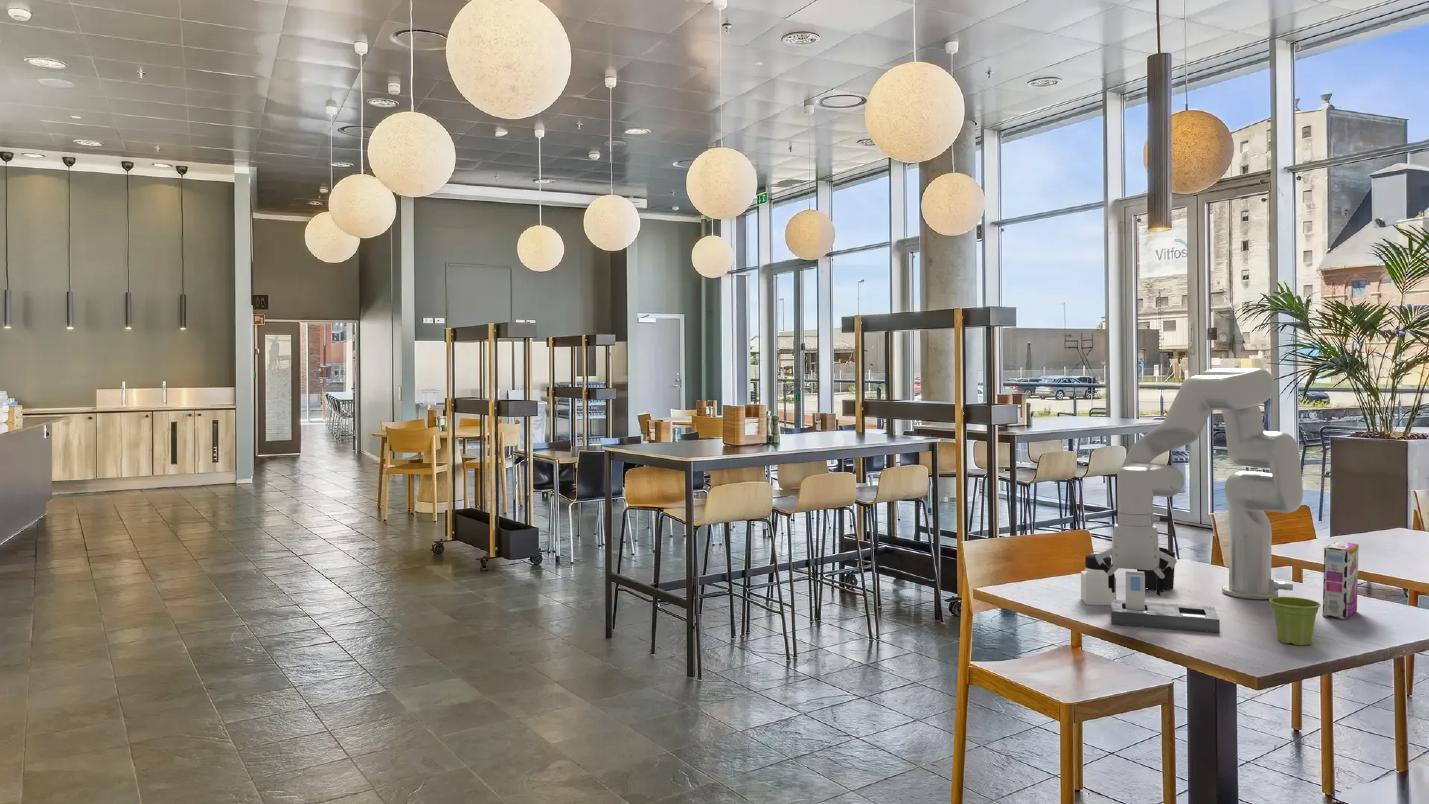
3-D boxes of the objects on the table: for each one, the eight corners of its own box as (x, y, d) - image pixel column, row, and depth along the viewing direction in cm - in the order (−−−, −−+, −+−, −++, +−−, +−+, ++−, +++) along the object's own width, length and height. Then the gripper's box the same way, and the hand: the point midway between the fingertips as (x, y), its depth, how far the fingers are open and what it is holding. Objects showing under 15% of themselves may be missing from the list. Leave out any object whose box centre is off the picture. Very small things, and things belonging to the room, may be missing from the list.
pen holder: (1179, 586, 256) (1179, 549, 255) (1168, 593, 249) (1168, 554, 248) (1142, 581, 262) (1142, 545, 261) (1131, 588, 255) (1131, 550, 254)
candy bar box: (1347, 620, 220) (1347, 549, 219) (1322, 617, 223) (1322, 547, 223) (1358, 611, 228) (1359, 543, 227) (1334, 608, 231) (1334, 540, 231)
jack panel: (1213, 619, 222) (1213, 606, 222) (1219, 633, 211) (1219, 618, 211) (1111, 611, 231) (1111, 598, 231) (1111, 624, 220) (1111, 610, 219)
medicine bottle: (1116, 606, 236) (1116, 557, 236) (1085, 605, 237) (1085, 557, 237) (1110, 599, 243) (1110, 552, 242) (1080, 598, 244) (1080, 551, 244)
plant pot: (1259, 636, 208) (1259, 597, 208) (1300, 635, 209) (1300, 595, 209) (1288, 649, 199) (1288, 607, 199) (1331, 647, 200) (1331, 606, 200)
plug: (1144, 618, 224) (1144, 571, 224) (1144, 623, 220) (1145, 575, 220) (1125, 617, 226) (1125, 570, 225) (1125, 621, 222) (1126, 574, 221)
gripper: (1175, 518, 223) (1175, 591, 223) (1095, 516, 229) (1095, 586, 230) (1177, 524, 216) (1177, 599, 216) (1094, 521, 222) (1095, 594, 223)
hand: (1135, 592), depth 223 cm, fingers open, 9 cm apart
